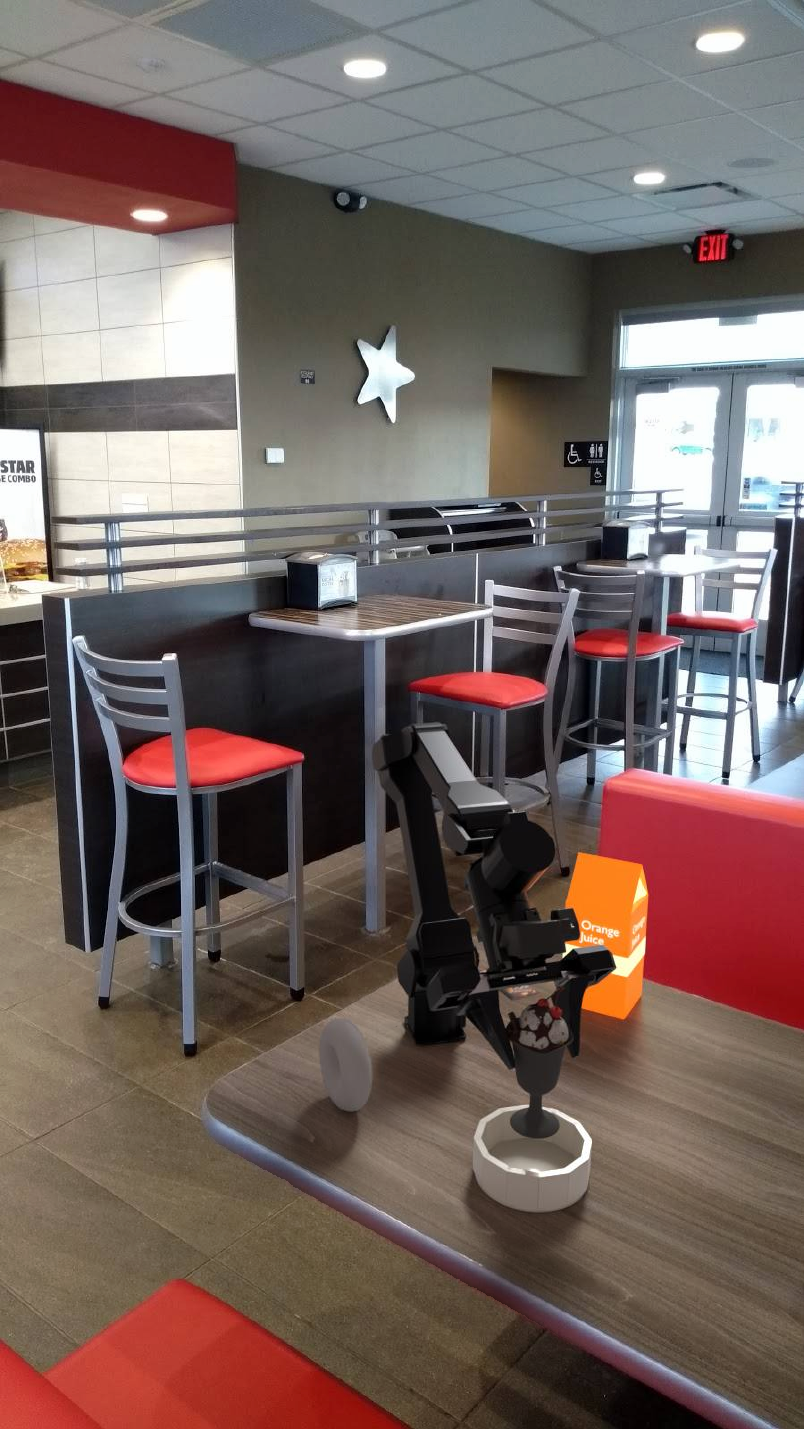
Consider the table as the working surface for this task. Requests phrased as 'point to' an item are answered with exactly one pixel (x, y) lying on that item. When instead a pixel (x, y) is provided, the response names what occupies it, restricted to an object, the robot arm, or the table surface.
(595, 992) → the orange juice
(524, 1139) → the white faceted bowl
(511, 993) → the chocolate bar
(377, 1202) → the table surface
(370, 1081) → the donut
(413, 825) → the robot arm
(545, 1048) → the sundae
